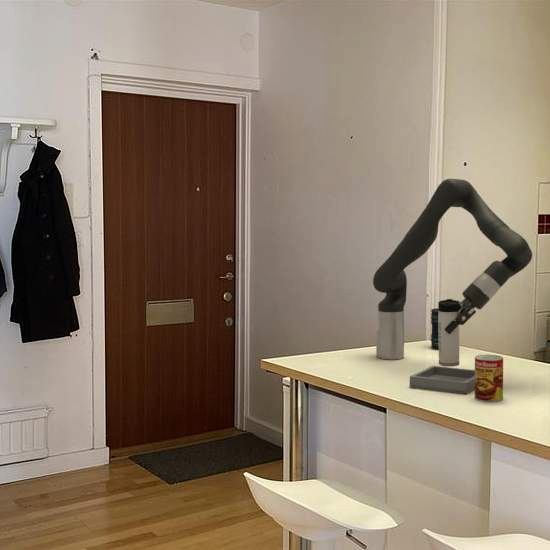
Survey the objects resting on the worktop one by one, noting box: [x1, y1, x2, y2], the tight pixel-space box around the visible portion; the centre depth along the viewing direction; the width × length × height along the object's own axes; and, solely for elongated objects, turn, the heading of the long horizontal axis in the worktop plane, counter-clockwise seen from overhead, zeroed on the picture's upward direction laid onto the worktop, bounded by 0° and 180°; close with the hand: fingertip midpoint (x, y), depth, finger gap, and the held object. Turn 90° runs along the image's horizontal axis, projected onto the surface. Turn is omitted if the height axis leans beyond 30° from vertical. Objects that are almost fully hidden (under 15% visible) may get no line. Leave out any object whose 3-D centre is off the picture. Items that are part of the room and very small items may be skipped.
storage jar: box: [430, 308, 439, 351], centre depth 305 cm, size 10×10×15 cm
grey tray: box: [409, 365, 475, 395], centre depth 245 cm, size 18×18×4 cm
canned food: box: [474, 354, 504, 403], centre depth 228 cm, size 8×8×12 cm
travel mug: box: [437, 298, 460, 367], centre depth 244 cm, size 6×7×20 cm
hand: (443, 330), depth 244 cm, fingers closed on travel mug, 6 cm apart
